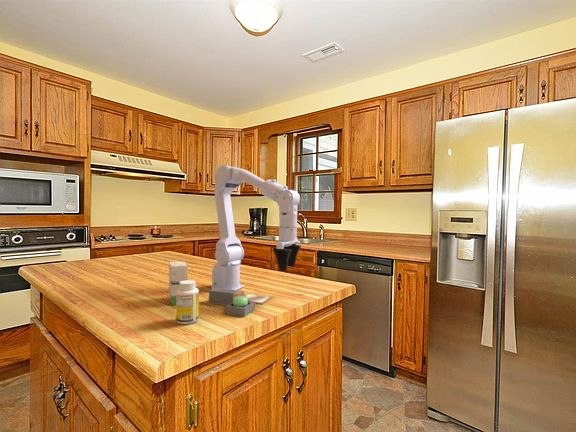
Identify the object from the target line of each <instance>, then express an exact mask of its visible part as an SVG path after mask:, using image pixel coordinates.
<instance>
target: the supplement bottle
mask: <svg viewBox="0 0 576 432" xmlns="http://www.w3.org/2000/svg"><path fill="white" fill-rule="evenodd" d="M196 283H197V282H196V280H193V279H188V280H184V281H181V282H180V284H179V288H180V289H178V290H177V291H176V305H175V310H176V311H175V314H176V315H175V321H176V322H177V323H178V324H180V325H191V324H195V323H196V322H198V320H199V318H200V314H199V313H200V305H199V304H200V303H199V302H200V299H199V297H200V290H199V288H197V287H196V285H197V284H196Z"/></svg>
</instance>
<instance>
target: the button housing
mask: <svg viewBox="0 0 576 432" xmlns="http://www.w3.org/2000/svg"><path fill="white" fill-rule="evenodd" d="M255 306H256V304H255V302H248V305H247V306H245V307H244V308H243V307H236V306H233V302H232V303H230V304H228V305H225V306H224V307H225V315H232V316H238V317H243V318H244V317H245V318H246V316H248V315H249V314H251V313H252V312H254V311H255V310H256V309H255V308H256V307H255Z"/></svg>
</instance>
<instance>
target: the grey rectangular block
mask: <svg viewBox="0 0 576 432" xmlns="http://www.w3.org/2000/svg"><path fill="white" fill-rule="evenodd" d="M235 296H245V291H244V290H241V289H238V290H232V289H223V288H214V289H210V290H208V304H217V305H223V306H226V305H228V304H230V303H232V302H233V298H234V297H235Z"/></svg>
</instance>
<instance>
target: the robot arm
mask: <svg viewBox="0 0 576 432" xmlns="http://www.w3.org/2000/svg"><path fill="white" fill-rule="evenodd" d="M213 175H214V182H215V184H214V189H213V191H214V192H213V193H214V200H215V206H216V214H217V222H218V231H219V236H220V238H219V240H218V241H217V242H216V243H215V252H214V253H215V254H214V258H215V260H216V262H217V263H215V264H214V265H213V267H212V271H211V276H212V277H211V287H210V290H212V289H214V288H223V289H232V290H241V289H242V288H243V287H245V284H244V285H243V284H240V282H241V281H240V280H241V279H240V277H241V276H240V274H241V272H240V271H241V267H240V266H241V262H242V260H243V258H244V257H245V250H244V248H243V246H242V243H241V240H240V239H239V238H238V237H237V236H236V228H235V223H234V220H235V219H234V214H233V208H232V207H233V206H232V205H233V204H232V199H231V194H232V192H233V191H234V190H235V189H237V188H238V187H239V186H241V185H242V184H243V183H246V184H249V185H251V186H253V187H255V188H256V189H259V190H260V193H261V194H262V195H263V196H265V197H266V198H268V199H270V200H272V201H274V202H276V204H277V205H278V209H279V210H278V211H279V220H278V221H279V225H278V239H277V242H276V246H275V247H273V248H272V249H273V250H272V251H273V253H274V255H275V257H276V261H277V264H278V269H279V271H280V272H287V269H288V267H290V268H295V267H296V261H297V256H298V254H299V251H300V249H301V247H302V245H300V243H301V240H298V237H297V235H298V234H297V233H298V232H297V231H298V229H297V228H298V206H300V203H301V195H300V194H299V192H298V191H296V189H288V188H289V187H288V186H287V185H282V184H280V183H278V181H277V180H276V179H274V178H272V179H266V180H264V179H263V178H261V177H259V176H258V175H255V174H254V173H252V172H250V171H249V170H247V169H243V168H241V167H235V166H231V165H230V166H229V165H226V164H222V165H220V166H218V168H217V169H216V170H215V172H214V174H213Z"/></svg>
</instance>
